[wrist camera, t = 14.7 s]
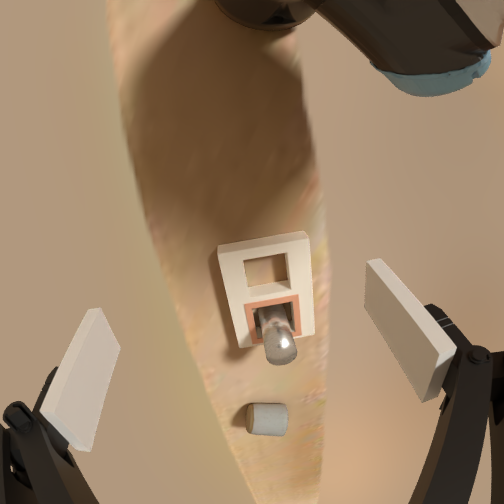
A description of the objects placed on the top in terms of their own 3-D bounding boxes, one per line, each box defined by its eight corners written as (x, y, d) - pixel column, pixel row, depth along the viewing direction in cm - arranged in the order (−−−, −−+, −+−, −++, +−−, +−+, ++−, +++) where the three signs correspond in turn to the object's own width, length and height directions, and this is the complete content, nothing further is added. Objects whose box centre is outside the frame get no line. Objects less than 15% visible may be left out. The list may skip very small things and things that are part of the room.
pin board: (217, 245, 46) (217, 254, 44) (303, 230, 47) (309, 238, 44) (238, 337, 54) (239, 349, 51) (310, 323, 55) (315, 335, 52)
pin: (268, 294, 51) (279, 338, 41) (289, 306, 52) (303, 350, 43) (252, 313, 52) (260, 358, 42) (273, 323, 54) (283, 369, 44)
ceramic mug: (248, 396, 62) (251, 425, 55) (285, 397, 63) (291, 425, 56) (241, 422, 67) (243, 448, 60) (275, 422, 68) (279, 448, 61)
